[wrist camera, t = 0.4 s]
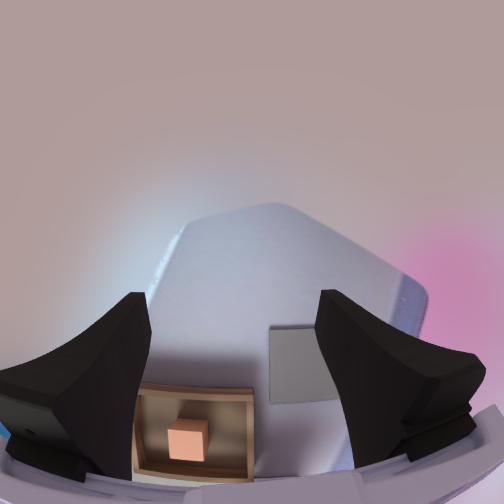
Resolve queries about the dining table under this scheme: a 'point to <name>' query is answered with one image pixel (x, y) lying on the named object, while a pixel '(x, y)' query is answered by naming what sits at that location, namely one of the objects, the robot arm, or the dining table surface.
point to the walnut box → (219, 432)
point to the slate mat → (298, 368)
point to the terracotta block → (188, 439)
